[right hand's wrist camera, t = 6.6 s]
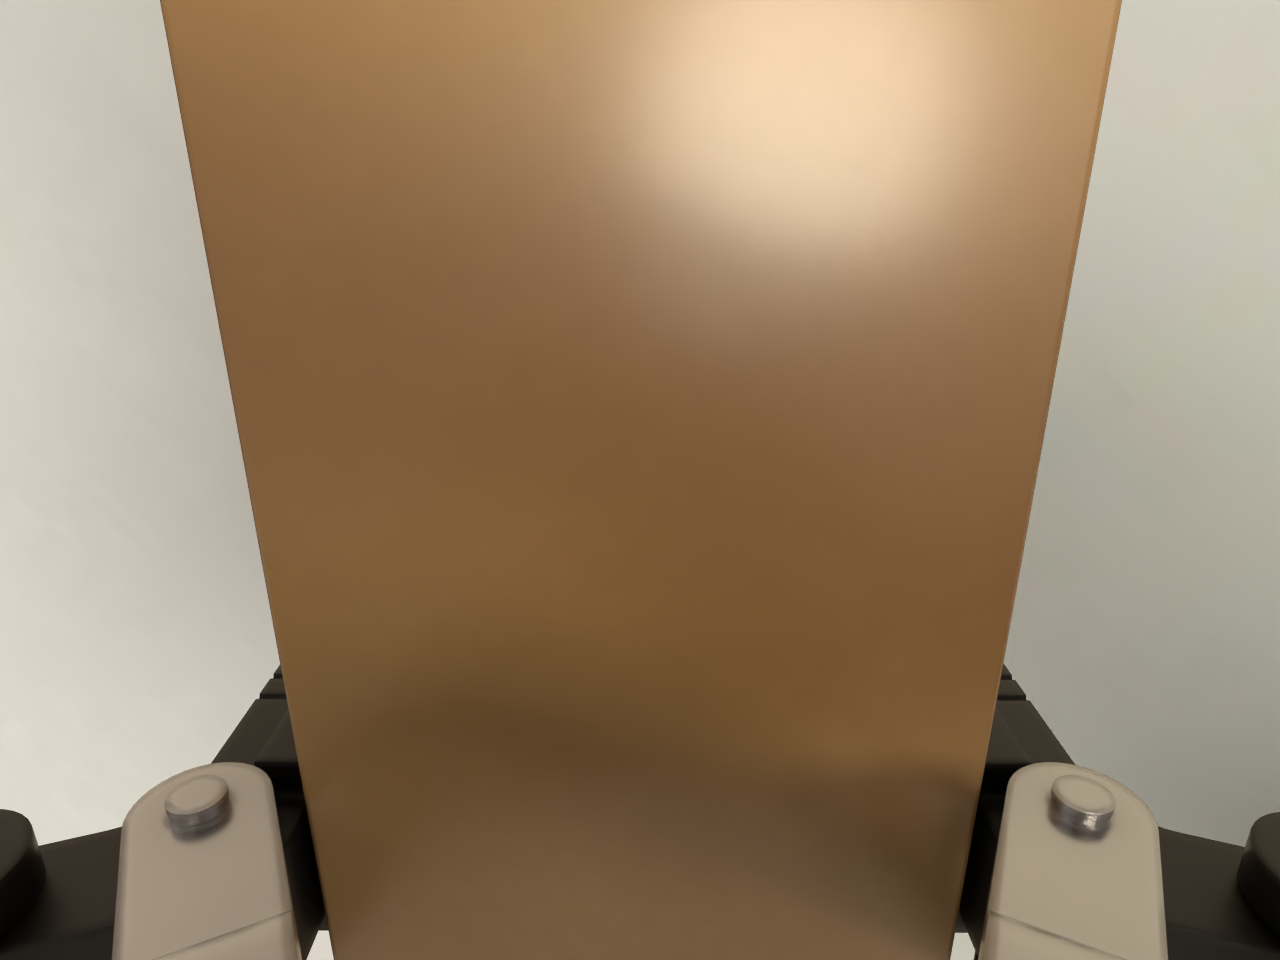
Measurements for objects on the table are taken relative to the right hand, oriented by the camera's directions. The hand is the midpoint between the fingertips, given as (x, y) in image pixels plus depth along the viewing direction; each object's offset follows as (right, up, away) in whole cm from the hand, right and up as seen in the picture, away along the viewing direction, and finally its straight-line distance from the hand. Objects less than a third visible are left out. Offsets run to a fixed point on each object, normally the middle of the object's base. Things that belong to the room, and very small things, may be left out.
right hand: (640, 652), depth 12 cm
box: (0, +12, +3) cm, 13 cm away
